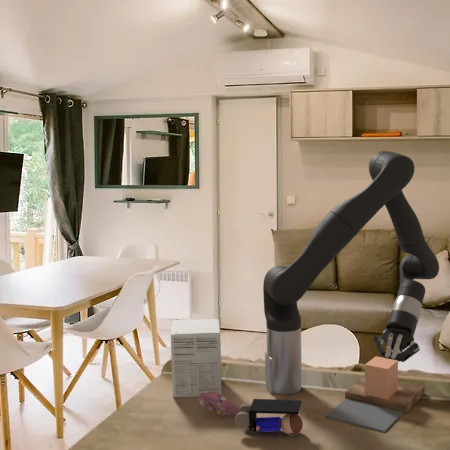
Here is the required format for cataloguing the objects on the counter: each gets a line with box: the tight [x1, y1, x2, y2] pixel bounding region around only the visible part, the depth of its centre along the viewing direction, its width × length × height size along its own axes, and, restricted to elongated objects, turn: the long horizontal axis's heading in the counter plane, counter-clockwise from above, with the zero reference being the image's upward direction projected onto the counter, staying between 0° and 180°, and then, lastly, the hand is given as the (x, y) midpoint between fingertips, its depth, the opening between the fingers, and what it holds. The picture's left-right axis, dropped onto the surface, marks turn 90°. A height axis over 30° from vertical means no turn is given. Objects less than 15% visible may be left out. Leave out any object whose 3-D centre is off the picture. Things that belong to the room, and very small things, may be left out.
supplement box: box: [170, 318, 222, 398], centre depth 175 cm, size 13×13×18 cm
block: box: [364, 356, 399, 400], centre depth 164 cm, size 7×6×8 cm
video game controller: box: [197, 390, 239, 417], centre depth 159 cm, size 10×5×7 cm
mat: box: [324, 398, 404, 433], centre depth 156 cm, size 12×15×1 cm
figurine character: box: [234, 398, 304, 437], centre depth 148 cm, size 7×8×15 cm
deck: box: [344, 376, 425, 414], centre depth 167 cm, size 14×16×2 cm
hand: (387, 372), depth 168 cm, fingers closed
